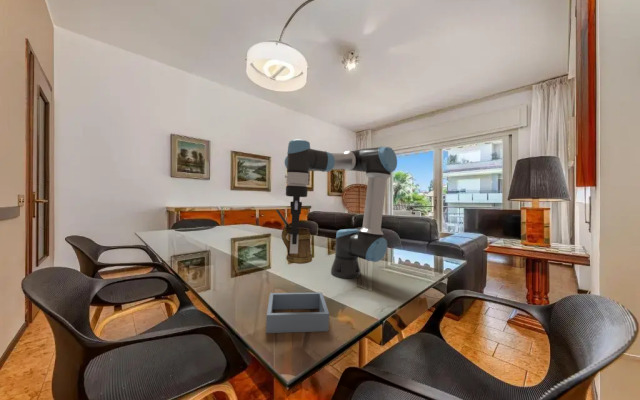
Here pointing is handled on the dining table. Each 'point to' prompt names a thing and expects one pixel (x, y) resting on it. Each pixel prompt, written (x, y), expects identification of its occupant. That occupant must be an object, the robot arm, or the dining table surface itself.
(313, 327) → the box
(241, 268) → the dining table surface
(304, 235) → the wooden mug
